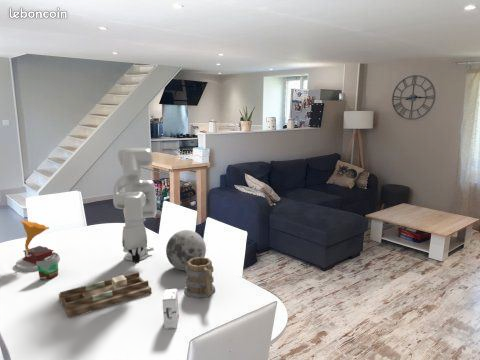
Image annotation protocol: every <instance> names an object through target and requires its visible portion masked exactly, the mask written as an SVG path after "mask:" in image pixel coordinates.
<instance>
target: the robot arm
mask: <svg viewBox="0 0 480 360" xmlns="http://www.w3.org/2000/svg"><path fill="white" fill-rule="evenodd" d="M117 158H118V162H119V165H120V167H121V169H122V174H121V176H120V177H118V179H117V180H116V182H115V183H114V185H113V188H112V189H113V190H112V202H113V206H114V208H115V209H117V210H118V209H119V210H123V212H122V213H123V216H124V226H123V228H122V234H121V235H122V238H121V239H122V240H121V245H122V247H123V250H122V251H123V252H124V253H125V254H124V259H125V260H127V261H130V262H133V263H134V264H135V265H136V264H140V261H142V260H145V259H146V258H148V256H149V252H152V251H154V247H152V246H151V247H150V246H148V237H147V231H146V226H145V222H146V219H147V218H154V217H156V216H157V211H158V207H157V205H158V204H157V193H156V184H155V182H154V181H153V180H151V179H143V180H142V179H141V178H142V167H145V166H146V167H147V166H148V167H149V166H152V164H153V162H154V160H153V159H154V156H153V152H152V149H151V148H149V147H124V148H121V149H119V150H117ZM141 166H142V167H141ZM122 189H124V191H122ZM121 191H122V192H121Z"/></svg>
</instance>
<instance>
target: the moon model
mask: <svg viewBox="0 0 480 360" xmlns="http://www.w3.org/2000/svg"><path fill="white" fill-rule="evenodd" d="M206 247H207V246H206V243H205V240H204V238H203V237H202V236H201V235H200V234H199V233H198V232H196V231H193V230H189V229H184V230H180V231H177V232H175V233H174V234H173V235H172V236H170V238H169V239H168V241H167V244H166V247H165V252H166V253H165V254H166V258H167V260H168V262H169V263H170V264H171V265H172V267H174V268H176V269H178V270H181V271H186V267H187V262H188V261H189V260H190V259H192V258H197V257H200V258H201V257H204V258H206V257H205V256H206V254H207V253H206V252H207V248H206Z"/></svg>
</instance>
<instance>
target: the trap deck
mask: <svg viewBox="0 0 480 360" xmlns="http://www.w3.org/2000/svg"><path fill="white" fill-rule="evenodd" d="M123 276H124V277H125V278H126V279H127V286H125V287H122V288H118V289H114V288H113V287H112V278H109V279H106V280H102V281H98V282H94V283H91V284H90V283H89V284H86V285H83V286H79V287H74V288H71V289H67V290H63V291H60V292H59V294H58V299H59V301H60V303H61V306H62V308H63V310H64V311H65V314H66V316H67V318H68V319H71V318H74V317H77V316H80V315H83V314H88V313H90V312H93V311H97V310H100V309H103V308H107V307H110V306H113V305H117V304H120V303H122V302H124V303H125V302H126V301H129V300H133V299H137V298H139V297H144V296H146V295H149V294H152V293H153V292H152V287H151V286H150V285H149V280H144V279H143V278H142V277H141V276H140V272H139V271H136V272H131V273H128V274H125V275H123Z"/></svg>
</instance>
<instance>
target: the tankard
mask: <svg viewBox="0 0 480 360" xmlns="http://www.w3.org/2000/svg"><path fill="white" fill-rule="evenodd" d="M213 272H214V266H213V262H212V261H211V259H210V258H208V257H201V258H200V257H197V258H192V259H190V260H189V261H188V262H187V267H186V270H185V273H186V275H187V276H186V278H185V282H186V284H187V285H186V286H185V287H184V292H185V294H186V295H187V296H188V297H190V296H192V297H191V298H195V297H196V298H197V299H202V298H207V297H210V296H212V294H213V293H215V291H216V287H215V285H214V284H213V283H214V276H213ZM206 296H207V297H206ZM201 297H202V298H201Z"/></svg>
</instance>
